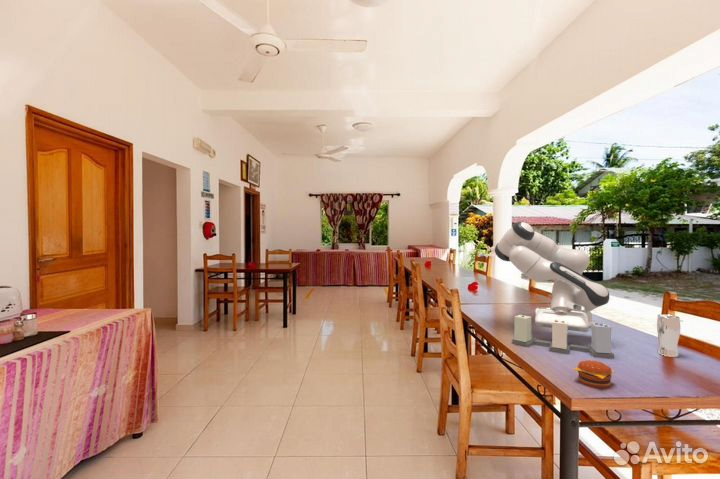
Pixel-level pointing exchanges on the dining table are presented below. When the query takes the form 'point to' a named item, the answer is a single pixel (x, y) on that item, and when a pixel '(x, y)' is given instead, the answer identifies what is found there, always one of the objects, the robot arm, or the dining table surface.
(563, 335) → the key two dots
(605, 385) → the hamburger
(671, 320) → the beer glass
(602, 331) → the key three dots
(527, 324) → the key one dot
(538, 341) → the grey flat piece
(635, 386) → the dining table surface
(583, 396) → the dining table surface
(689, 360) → the dining table surface
